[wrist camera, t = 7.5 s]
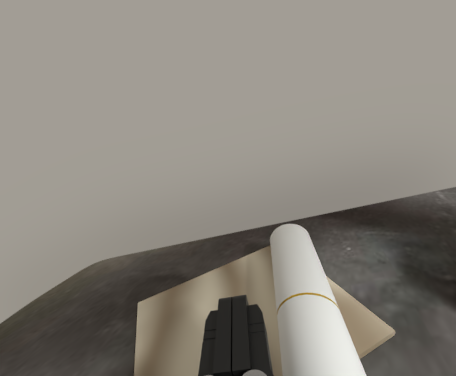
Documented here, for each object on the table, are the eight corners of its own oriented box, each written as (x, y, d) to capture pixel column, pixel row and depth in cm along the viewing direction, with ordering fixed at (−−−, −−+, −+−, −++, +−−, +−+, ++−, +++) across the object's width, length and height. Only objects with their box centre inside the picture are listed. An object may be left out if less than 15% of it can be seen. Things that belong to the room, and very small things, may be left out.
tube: (376, 396, 9) (303, 218, 23) (274, 404, 10) (264, 230, 24) (396, 454, 10) (314, 251, 24) (302, 456, 11) (277, 261, 25)
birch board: (281, 243, 28) (281, 240, 28) (394, 334, 15) (395, 330, 15) (139, 305, 23) (137, 302, 23) (129, 517, 10) (126, 513, 10)
